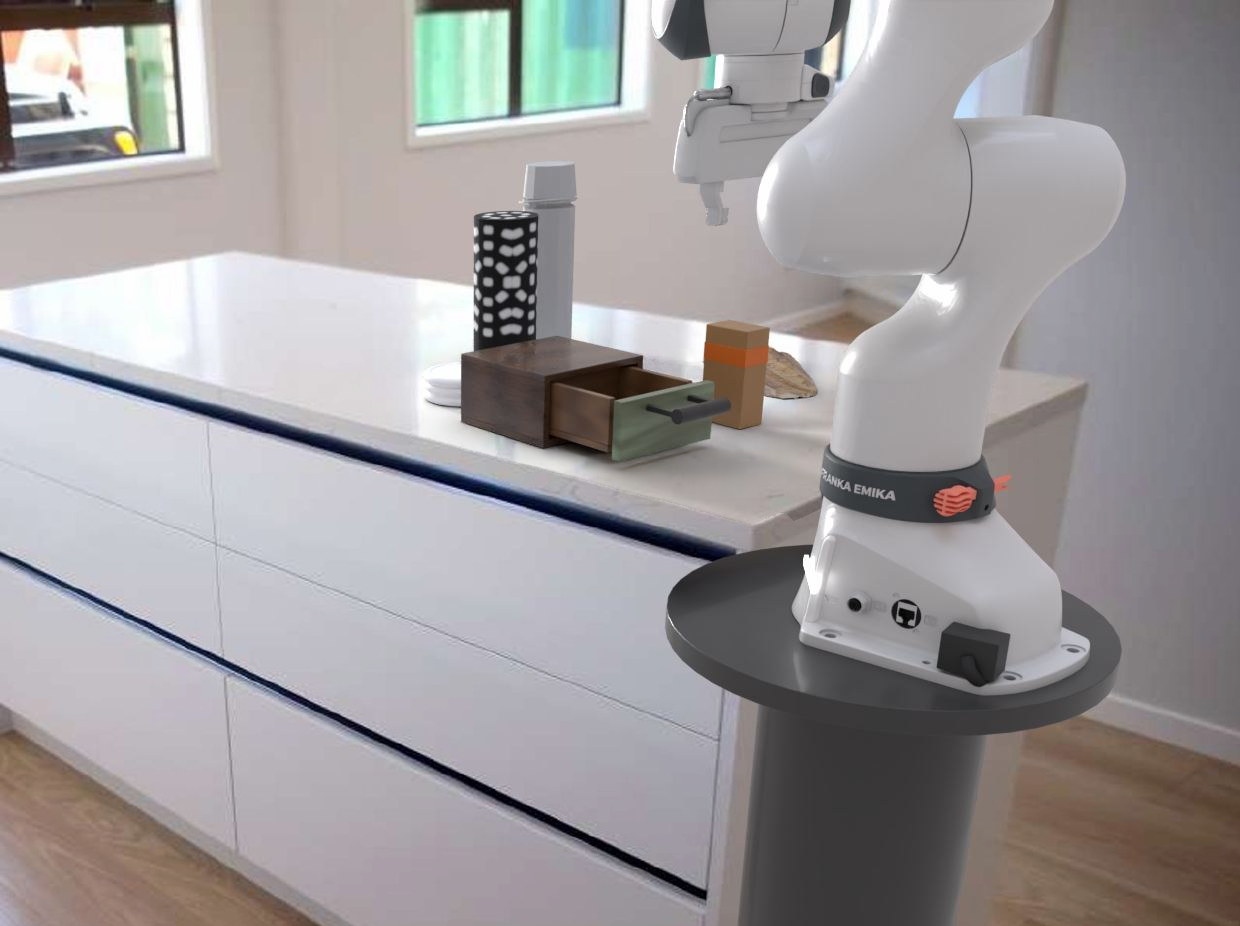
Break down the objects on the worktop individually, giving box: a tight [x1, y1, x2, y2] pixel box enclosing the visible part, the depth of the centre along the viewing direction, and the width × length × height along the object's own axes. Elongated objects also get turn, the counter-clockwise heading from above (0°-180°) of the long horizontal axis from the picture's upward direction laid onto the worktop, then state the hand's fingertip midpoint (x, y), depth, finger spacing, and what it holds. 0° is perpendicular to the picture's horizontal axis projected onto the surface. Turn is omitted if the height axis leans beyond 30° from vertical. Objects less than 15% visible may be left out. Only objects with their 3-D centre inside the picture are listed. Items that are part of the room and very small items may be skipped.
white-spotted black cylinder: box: [473, 210, 539, 351], centre depth 187 cm, size 8×8×20 cm
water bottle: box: [518, 160, 578, 339], centre depth 197 cm, size 9×8×25 cm
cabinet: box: [460, 336, 644, 449], centre depth 163 cm, size 15×15×8 cm
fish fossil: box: [703, 346, 818, 400], centre depth 181 cm, size 26×10×1 cm, turn 8°
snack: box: [702, 319, 771, 430], centre depth 160 cm, size 6×4×11 cm, turn 32°
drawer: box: [549, 365, 731, 463], centre depth 151 cm, size 19×13×6 cm
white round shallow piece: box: [423, 361, 461, 407], centre depth 176 cm, size 10×10×4 cm
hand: (747, 220), depth 153 cm, fingers open, 8 cm apart
